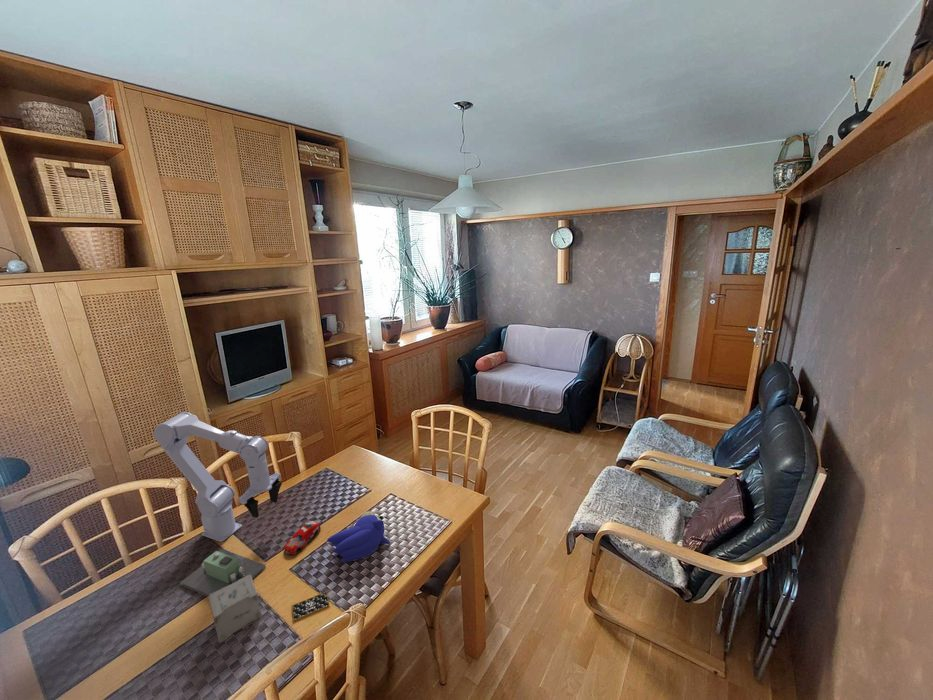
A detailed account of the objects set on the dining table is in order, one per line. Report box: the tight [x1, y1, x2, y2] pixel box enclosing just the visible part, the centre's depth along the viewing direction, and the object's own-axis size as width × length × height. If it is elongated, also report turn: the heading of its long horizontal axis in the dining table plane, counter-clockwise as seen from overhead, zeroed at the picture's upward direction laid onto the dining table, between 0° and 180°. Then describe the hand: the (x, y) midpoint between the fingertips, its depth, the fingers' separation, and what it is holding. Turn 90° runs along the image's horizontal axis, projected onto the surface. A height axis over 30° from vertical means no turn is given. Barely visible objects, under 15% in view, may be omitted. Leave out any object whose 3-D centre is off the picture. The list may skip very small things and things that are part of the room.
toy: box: [326, 511, 391, 563], centre depth 119 cm, size 10×17×15 cm
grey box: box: [208, 575, 263, 644], centre depth 94 cm, size 10×8×10 cm
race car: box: [283, 520, 321, 556], centre depth 122 cm, size 13×5×4 cm, turn 157°
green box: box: [203, 550, 240, 583], centre depth 108 cm, size 9×4×6 cm, turn 70°
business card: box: [291, 590, 330, 623], centre depth 100 cm, size 9×1×5 cm
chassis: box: [180, 549, 266, 598], centre depth 109 cm, size 18×13×4 cm
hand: (265, 508), depth 124 cm, fingers open, 7 cm apart
